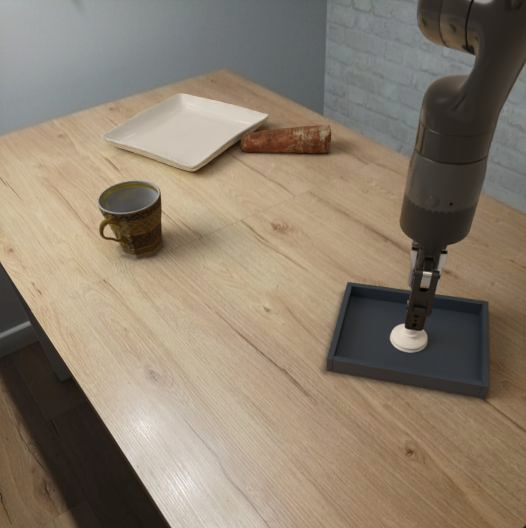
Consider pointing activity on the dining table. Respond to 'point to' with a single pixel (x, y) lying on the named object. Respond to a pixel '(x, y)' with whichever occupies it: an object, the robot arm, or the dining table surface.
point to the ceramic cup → (133, 217)
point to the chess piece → (408, 339)
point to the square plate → (185, 130)
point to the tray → (418, 363)
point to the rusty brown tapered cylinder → (288, 140)
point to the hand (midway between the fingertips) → (416, 305)
